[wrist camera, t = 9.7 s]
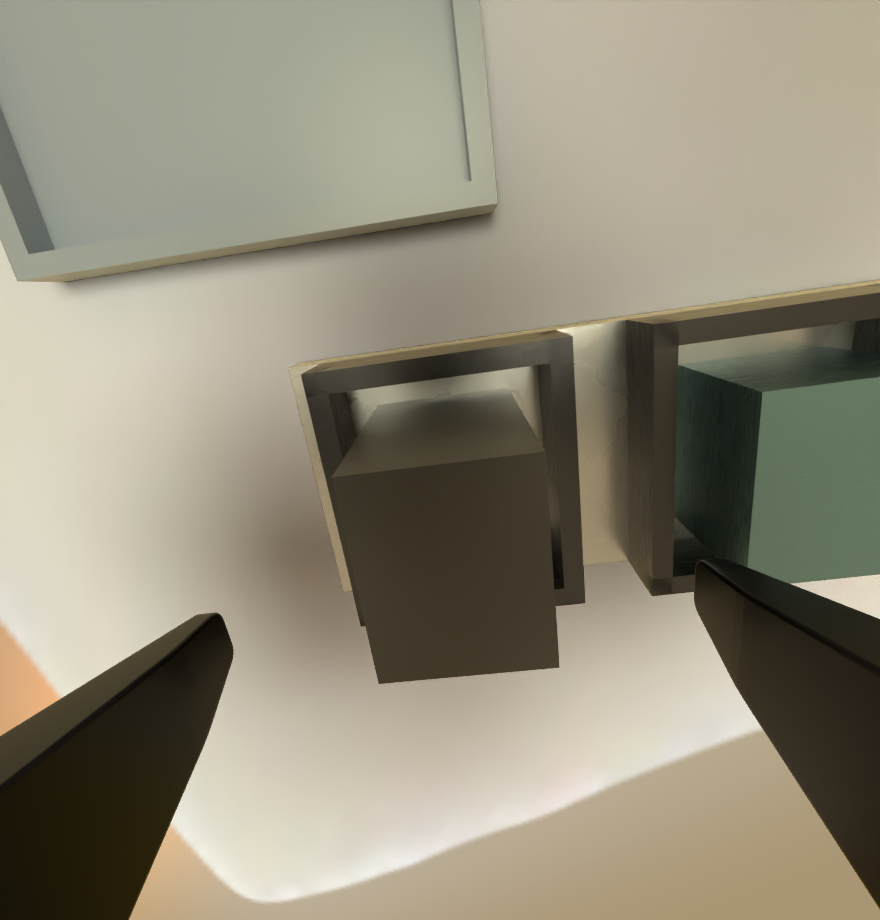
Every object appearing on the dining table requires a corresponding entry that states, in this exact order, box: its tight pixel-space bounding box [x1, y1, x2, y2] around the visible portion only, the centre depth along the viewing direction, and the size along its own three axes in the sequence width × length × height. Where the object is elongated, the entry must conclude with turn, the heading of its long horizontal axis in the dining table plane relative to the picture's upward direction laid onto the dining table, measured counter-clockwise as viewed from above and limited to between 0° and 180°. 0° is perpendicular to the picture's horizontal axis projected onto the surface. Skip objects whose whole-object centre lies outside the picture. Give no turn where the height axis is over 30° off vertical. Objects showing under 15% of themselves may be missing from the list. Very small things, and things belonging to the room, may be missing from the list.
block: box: [332, 388, 559, 684], centre depth 12 cm, size 4×5×6 cm
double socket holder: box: [288, 280, 880, 626], centre depth 14 cm, size 18×8×5 cm, turn 98°
